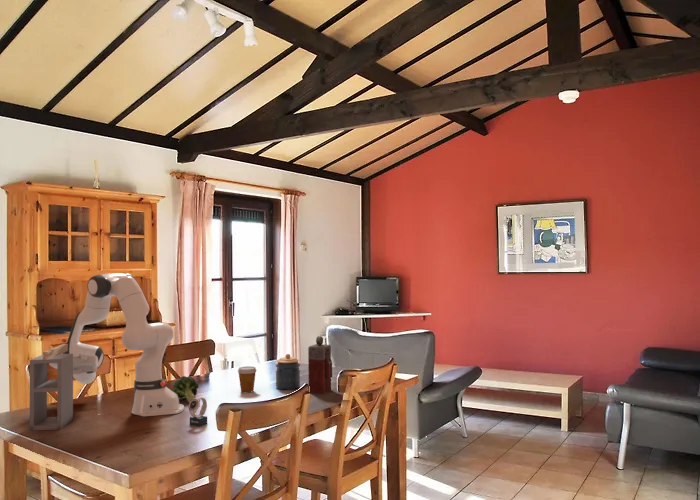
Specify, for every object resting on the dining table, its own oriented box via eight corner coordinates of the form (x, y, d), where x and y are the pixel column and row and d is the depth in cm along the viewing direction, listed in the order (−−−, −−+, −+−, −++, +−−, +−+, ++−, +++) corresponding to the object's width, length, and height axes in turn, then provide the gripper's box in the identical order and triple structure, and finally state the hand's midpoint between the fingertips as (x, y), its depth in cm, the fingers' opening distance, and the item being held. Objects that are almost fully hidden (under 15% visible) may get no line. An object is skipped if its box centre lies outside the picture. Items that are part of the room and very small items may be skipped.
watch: (186, 426, 236) (186, 399, 236) (200, 421, 243) (200, 394, 243) (196, 428, 233) (196, 400, 233) (210, 423, 240) (210, 396, 240)
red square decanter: (328, 394, 291) (328, 338, 291) (308, 392, 295) (308, 337, 295) (335, 390, 299) (335, 335, 299) (315, 388, 303) (315, 334, 303)
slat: (67, 350, 255) (67, 344, 255) (48, 359, 233) (48, 351, 233) (62, 351, 255) (62, 344, 255) (43, 359, 233) (43, 352, 233)
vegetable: (173, 401, 269) (164, 382, 280) (187, 415, 277) (178, 396, 288) (195, 384, 272) (185, 366, 283) (209, 399, 280) (199, 380, 291)
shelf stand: (76, 416, 251) (76, 352, 252) (61, 428, 233) (61, 359, 234) (47, 418, 250) (47, 352, 250) (29, 430, 232) (29, 359, 232)
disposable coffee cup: (258, 389, 302) (258, 366, 302) (253, 393, 293) (253, 369, 293) (240, 389, 303) (240, 366, 303) (235, 393, 294) (235, 369, 294)
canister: (299, 390, 300) (298, 355, 300) (273, 390, 300) (273, 356, 300) (301, 384, 313) (301, 351, 313) (277, 384, 313) (277, 352, 313)
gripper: (56, 360, 271) (45, 349, 260) (101, 359, 274) (93, 348, 262) (53, 373, 268) (43, 363, 256) (99, 372, 271) (91, 361, 259)
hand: (69, 355), depth 259 cm, fingers open, 8 cm apart
